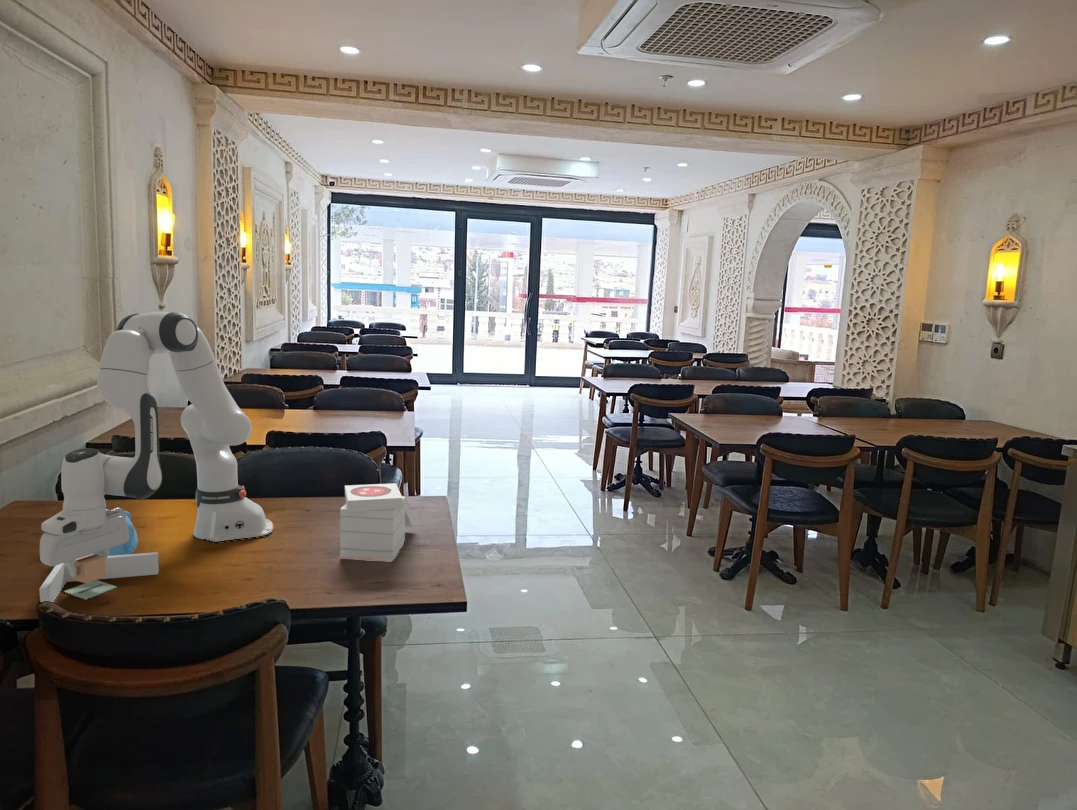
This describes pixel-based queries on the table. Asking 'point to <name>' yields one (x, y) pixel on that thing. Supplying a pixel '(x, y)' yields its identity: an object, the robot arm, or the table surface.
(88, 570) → the cube
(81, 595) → the white l-shaped bracket
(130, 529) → the decorative pot
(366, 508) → the pizza boxes
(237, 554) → the table surface
